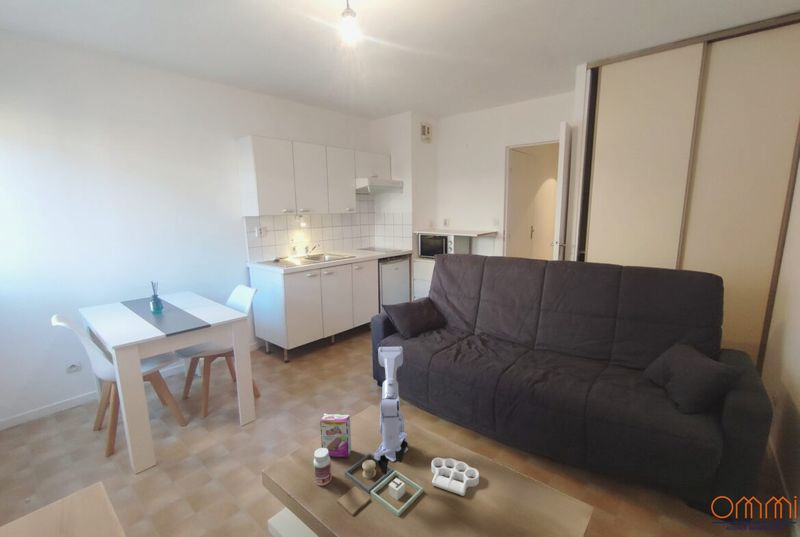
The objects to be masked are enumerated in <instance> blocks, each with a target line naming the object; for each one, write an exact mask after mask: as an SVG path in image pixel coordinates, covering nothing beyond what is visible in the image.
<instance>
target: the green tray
mask: <svg viewBox="0 0 800 537" xmlns="http://www.w3.org/2000/svg"><path fill="white" fill-rule="evenodd" d="M394 477H396V478H398V479H399V480H401V481H402V482H404V483H405V484H408V485H409V486H411V487H413V488H414V489H415V490H416V492H415V493H414V494H413V495H412V496H411V497H410V498H409V499H408V500H407V501H406V502H405V503H404V504H403V505H402V506H401V507H400V508H399V509H397V508H396V507H394V506H393V505H391V503H389V502H388V501H386V500H385V499H383V498H382V497H381V496H380V495H378V494H377V492H378V491H380V490H381V489H382V488H383V487H384V486H385V485H387V483H389V482H390V481H392V479H393V478H394ZM423 493H424V487H422V486H420V485H419V484H417V483H416V482H414V481H412V480H411V479H410V478H408V477H406V476H405V475H403V474H402V473H401V472H399V471H398V470H394V472H393V473H392V474H390V475H389V476H388V477H387V478H386V479H385V480H383V481H382V482H381V483H380V484H379V485H378V486H376V487H375V488H374V489H373V490H372V491H370V493H369V494H370V496H371V497H372V498H373V499H375V500H377V502H379V503H380V504H381V505H383V506H384V507H385V508H386V509H388V510H389V511H390V512H392V514H394V515H395V516H396V517H400V516H401V515H402V514H403V513H404V512H405V511H406V510H407V509H408V508H409V507H410V506H411V505H412V504H413V503H414V502H415V500H417V499H418V498H419V496H421V495H422V494H423Z"/></svg>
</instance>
